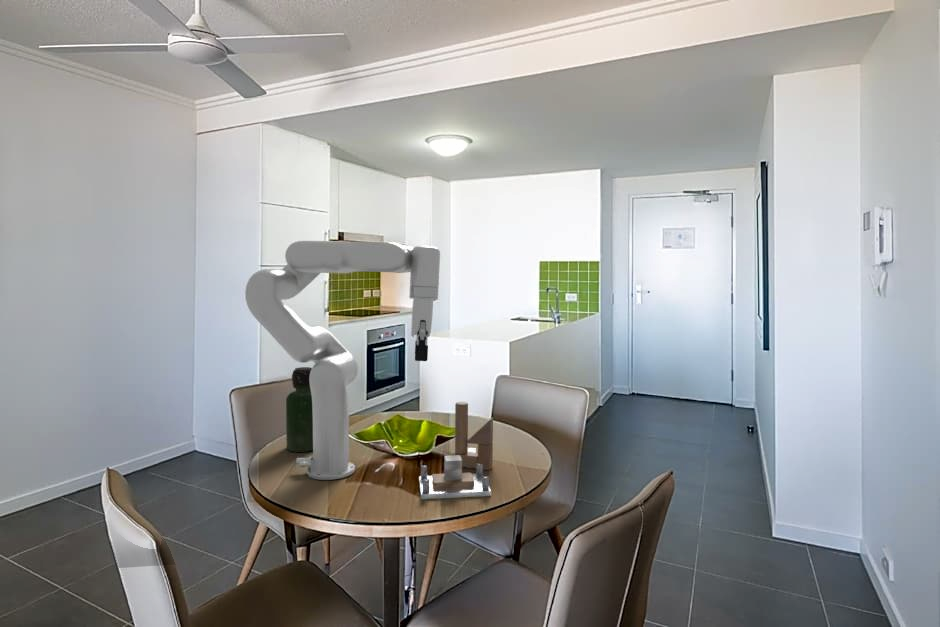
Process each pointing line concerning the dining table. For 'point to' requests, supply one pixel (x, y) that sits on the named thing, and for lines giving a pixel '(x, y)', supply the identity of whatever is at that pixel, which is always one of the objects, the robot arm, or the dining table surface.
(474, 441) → the wooden block
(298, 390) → the green bottle
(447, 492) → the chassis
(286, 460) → the dining table surface
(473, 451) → the butcher knife
